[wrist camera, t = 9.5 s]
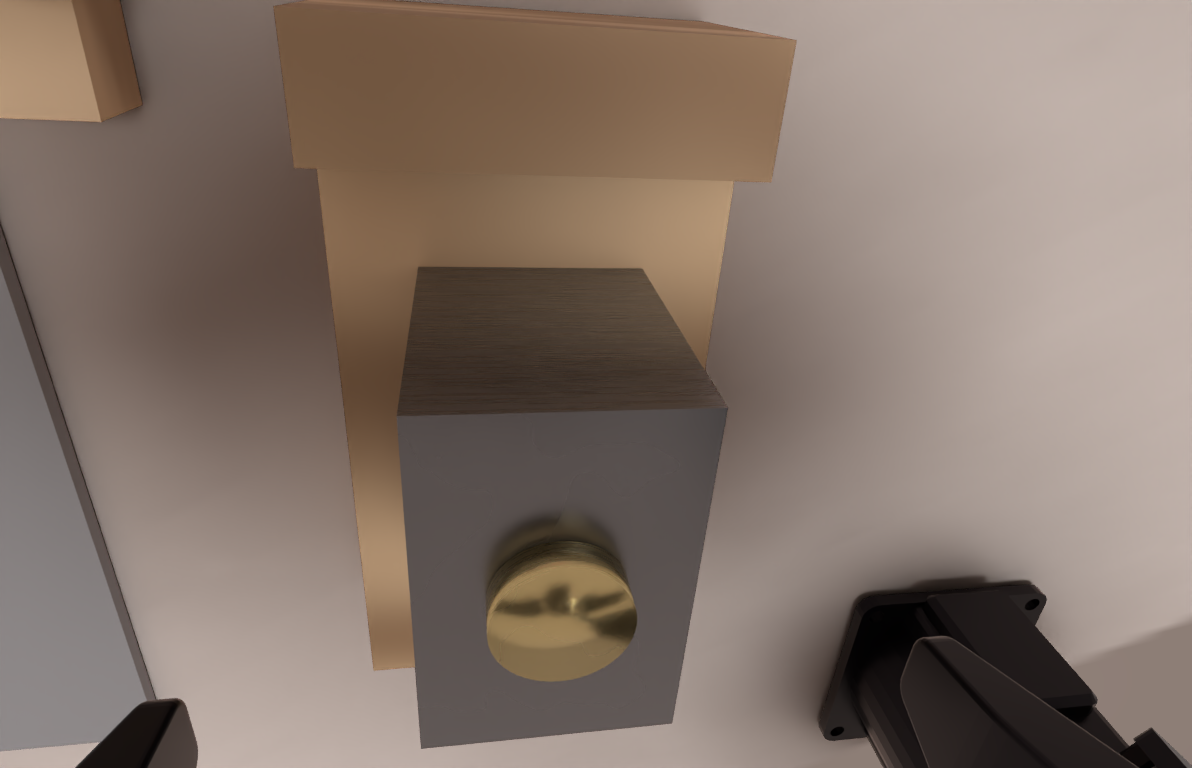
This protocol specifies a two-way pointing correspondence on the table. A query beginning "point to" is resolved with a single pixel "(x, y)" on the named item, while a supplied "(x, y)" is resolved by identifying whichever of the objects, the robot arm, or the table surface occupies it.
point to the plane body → (508, 184)
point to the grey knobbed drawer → (550, 500)
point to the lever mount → (65, 60)
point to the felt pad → (52, 565)
